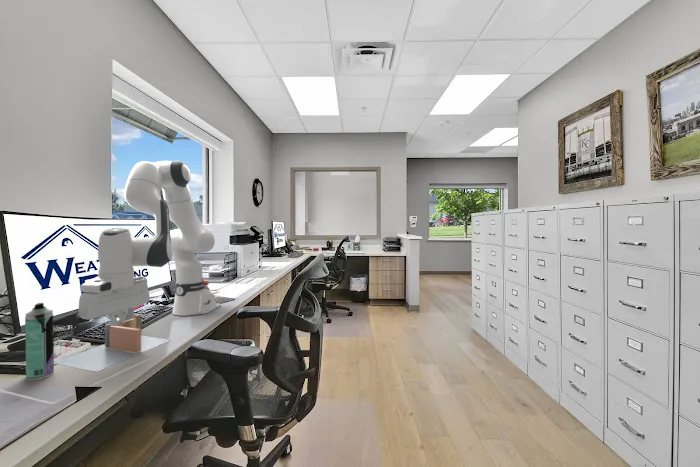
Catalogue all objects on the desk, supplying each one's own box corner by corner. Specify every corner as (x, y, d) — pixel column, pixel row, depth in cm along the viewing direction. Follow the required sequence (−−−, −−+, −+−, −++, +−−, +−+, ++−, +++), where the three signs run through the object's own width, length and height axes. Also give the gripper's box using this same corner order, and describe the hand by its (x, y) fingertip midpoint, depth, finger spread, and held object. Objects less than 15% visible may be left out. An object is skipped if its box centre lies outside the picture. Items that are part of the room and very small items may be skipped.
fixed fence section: (137, 335, 118) (137, 314, 118) (141, 336, 118) (141, 314, 118) (111, 345, 109) (111, 321, 109) (114, 345, 109) (114, 322, 108)
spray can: (58, 373, 89) (57, 302, 89) (34, 382, 84) (32, 307, 83) (46, 370, 91) (45, 300, 90) (21, 379, 86) (19, 304, 85)
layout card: (132, 335, 120) (132, 333, 120) (171, 341, 115) (171, 339, 115) (50, 364, 95) (50, 362, 95) (95, 373, 90) (95, 371, 90)
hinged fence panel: (103, 346, 107) (103, 324, 106) (109, 345, 108) (109, 323, 108) (136, 352, 103) (136, 329, 103) (141, 350, 105) (141, 327, 104)
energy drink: (122, 329, 126) (122, 299, 126) (137, 329, 126) (136, 298, 126) (113, 334, 121) (113, 302, 120) (128, 334, 121) (128, 302, 121)
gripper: (139, 274, 111) (140, 314, 111) (73, 287, 91) (75, 335, 92) (153, 275, 109) (154, 315, 110) (90, 288, 89) (92, 337, 90)
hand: (118, 324), depth 101 cm, fingers closed
